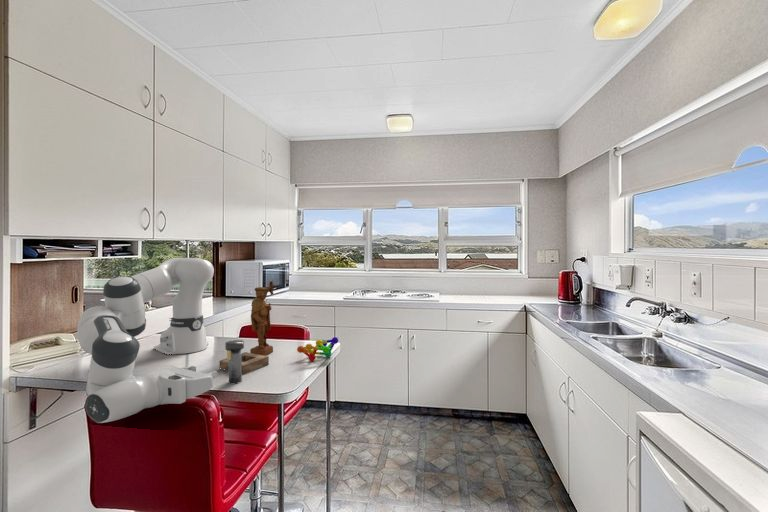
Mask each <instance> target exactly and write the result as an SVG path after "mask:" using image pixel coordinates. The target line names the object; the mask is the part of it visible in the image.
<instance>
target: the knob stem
mask: <svg viewBox="0 0 768 512" xmlns="http://www.w3.org/2000/svg"><path fill="white" fill-rule="evenodd" d="M244 347H245V341H244V340H241V339H237V340H236V339H235V340H228V341H226V342H225V350H226V352H227V355H226V358H227V359H228V366H229V371H228V383H229V382H230V383H229V384H231V383H236V384H238V383H237V382H240V383H241V382H243V374H242V362H241V354H242V350H243V349H244Z"/></svg>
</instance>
